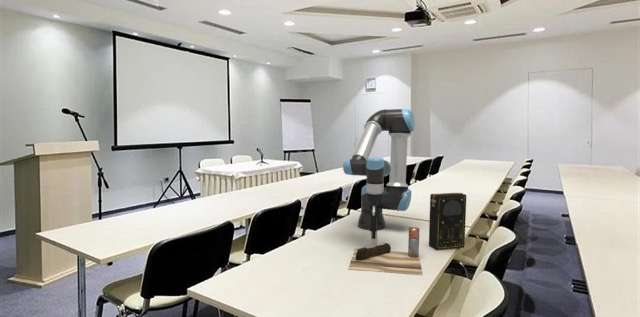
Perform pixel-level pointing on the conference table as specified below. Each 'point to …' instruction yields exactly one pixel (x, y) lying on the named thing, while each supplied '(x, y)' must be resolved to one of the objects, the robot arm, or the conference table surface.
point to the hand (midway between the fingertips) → (373, 245)
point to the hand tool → (372, 251)
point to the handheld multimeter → (447, 220)
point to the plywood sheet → (388, 263)
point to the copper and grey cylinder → (413, 242)
